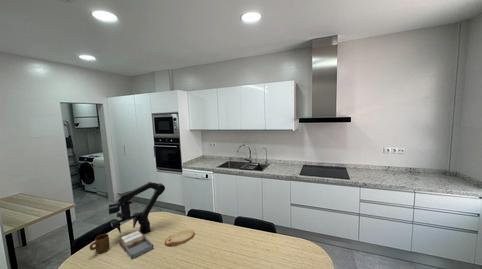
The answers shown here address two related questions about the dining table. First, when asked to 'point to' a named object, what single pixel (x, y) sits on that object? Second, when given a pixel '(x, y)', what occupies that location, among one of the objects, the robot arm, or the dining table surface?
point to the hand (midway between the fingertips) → (127, 230)
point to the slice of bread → (179, 238)
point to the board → (132, 243)
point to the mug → (101, 243)
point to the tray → (139, 249)
